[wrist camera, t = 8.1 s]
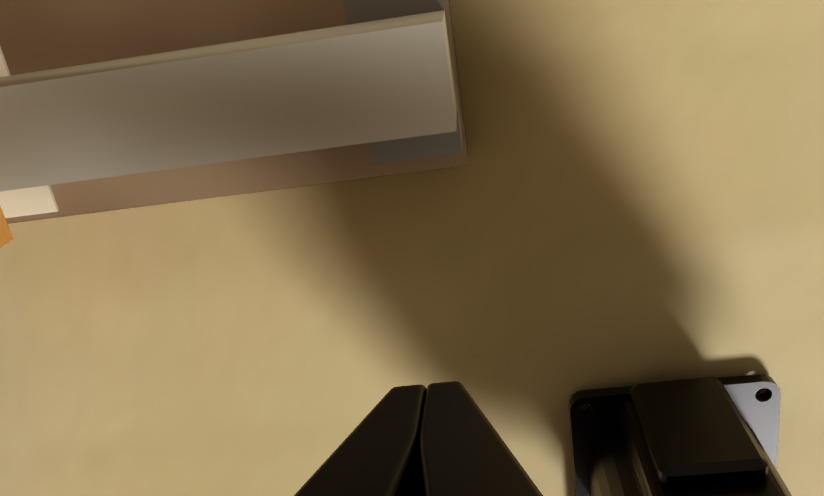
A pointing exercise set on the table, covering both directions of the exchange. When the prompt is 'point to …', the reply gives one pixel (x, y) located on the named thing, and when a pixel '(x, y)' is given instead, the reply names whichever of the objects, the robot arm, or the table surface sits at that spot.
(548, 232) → the table surface
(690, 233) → the table surface
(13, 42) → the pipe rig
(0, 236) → the collar
